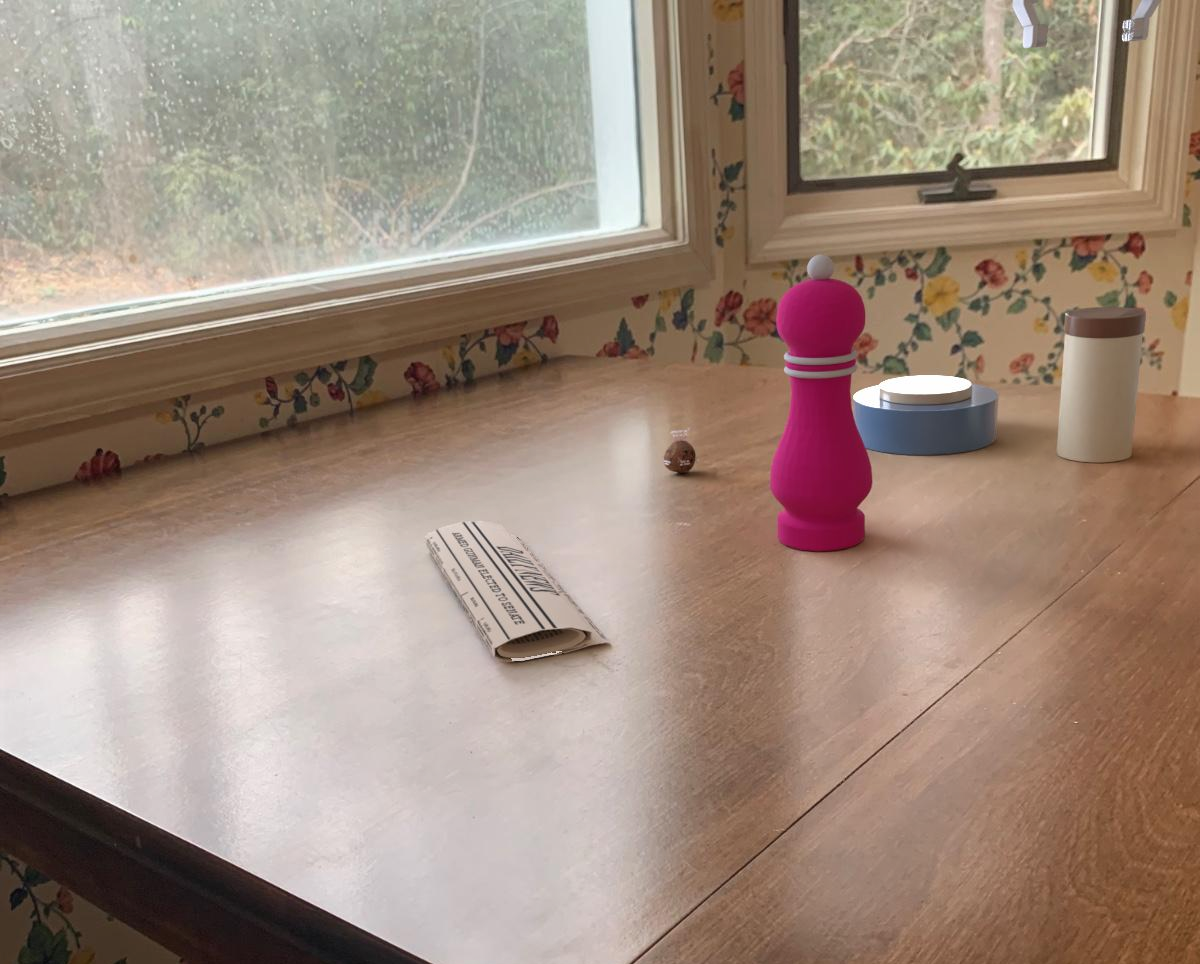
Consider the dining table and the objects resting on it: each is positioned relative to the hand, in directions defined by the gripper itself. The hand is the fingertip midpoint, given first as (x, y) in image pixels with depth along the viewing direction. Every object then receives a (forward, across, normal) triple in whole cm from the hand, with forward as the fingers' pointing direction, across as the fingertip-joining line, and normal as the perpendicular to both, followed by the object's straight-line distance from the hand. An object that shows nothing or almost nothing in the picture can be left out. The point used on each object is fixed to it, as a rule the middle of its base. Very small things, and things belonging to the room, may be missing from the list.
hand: (1085, 44), depth 108 cm
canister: (+33, -5, -16) cm, 37 cm away
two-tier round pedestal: (+33, -16, -5) cm, 37 cm away
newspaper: (+33, -57, -34) cm, 74 cm away
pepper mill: (+33, -34, -30) cm, 56 cm away
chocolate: (+33, -40, -9) cm, 53 cm away
